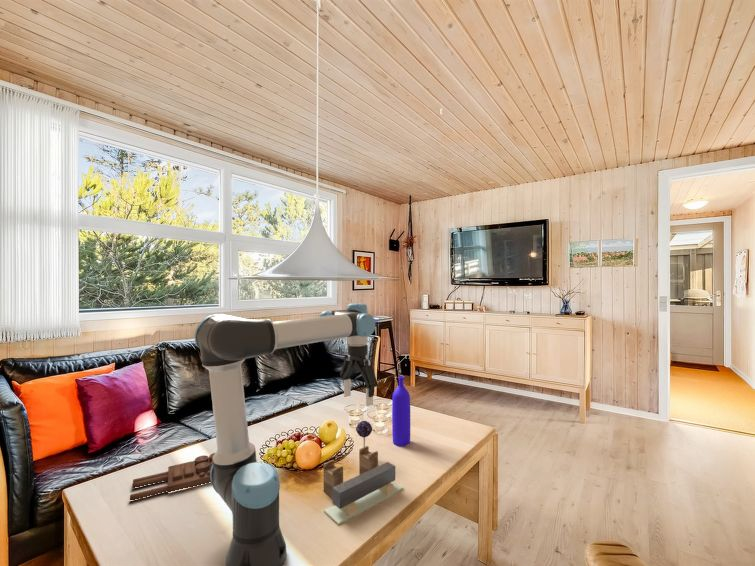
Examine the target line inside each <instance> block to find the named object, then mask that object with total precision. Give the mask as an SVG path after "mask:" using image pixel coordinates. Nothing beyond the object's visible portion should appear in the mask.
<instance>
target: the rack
mask: <svg viewBox="0 0 755 566" xmlns="http://www.w3.org/2000/svg"><path fill="white" fill-rule="evenodd" d="M358 453H359V459H358V460H359V465H358V466H359V475H360V474H363V473H365V472H367V471H369V470H371V469H373V468H376V467H378V466H379V451H377V450H375V451H374V452H371V451H370V450H369V446H368V445H365V447H364V446H363V447H361V448H359V452H358ZM343 482H344V466H343V465H341V466H338V467H337V466H335V460H334V459H331V460H329V461H327V462H324V463H323V492H324V493H325V494H326V495H328V496H329V497H330V498H331V499H332V500H333V487H335V486H337V485H339V484H341V483H343Z"/></svg>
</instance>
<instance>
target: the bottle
mask: <svg viewBox="0 0 755 566" xmlns="http://www.w3.org/2000/svg"><path fill="white" fill-rule="evenodd" d="M397 378H398V386H397V387H396V388H395V390H394V391H393V392H392V400H391V402H392V403H391V405H392V407H391V413H392V414H391V415H392V416H391V417H392V418H391V421H392V422H391V427H392V430H391V431H392V433H391V434H392V443H393V445H395V446H397V447H406V445H407V446H409V445H410V443H411V395H410V394H411V393H410V392H409V390H408V389H407V388H406V387H405V385H404V379H405V376H403V375H402V376H401V375H400V376H398V377H397ZM408 444H409V445H408Z"/></svg>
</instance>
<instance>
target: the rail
mask: <svg viewBox="0 0 755 566" xmlns="http://www.w3.org/2000/svg"><path fill="white" fill-rule="evenodd" d="M393 481H394V482H396V465H394V464H392V463H390V462H389V461H386V462H384V463H381V465H378V467H376V468H373V469H371V470H369V471H367V472H365V473H363V474H360V475H355V477H352V478H349V479H348V480H345V481H343V483H341V484H339V485H337V486H335V487H333V499H332V504H333V505H335V506H337V507H338V508H339V509H341V508H343V507H345V506H347V505H349V504H351V503H353V502H354V501H356V500H358V499H360V498H362V497H364V496H366V495H368V494H370V493H372V492H374V491H376V490H378V489H379V488H381V487H383V486H385V485H387V484H389V483H391V482H393Z"/></svg>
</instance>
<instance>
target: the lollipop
mask: <svg viewBox="0 0 755 566" xmlns="http://www.w3.org/2000/svg"><path fill="white" fill-rule="evenodd" d="M355 431H356V432H357V436H360V437H361V438H363V447H366V438H367V437H369V436H370V435H371V433H372V432H373V426H372V424H371V423H370V422H369V421H367V420H361V421H359V422H358V424H357V426H356V428H355Z"/></svg>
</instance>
